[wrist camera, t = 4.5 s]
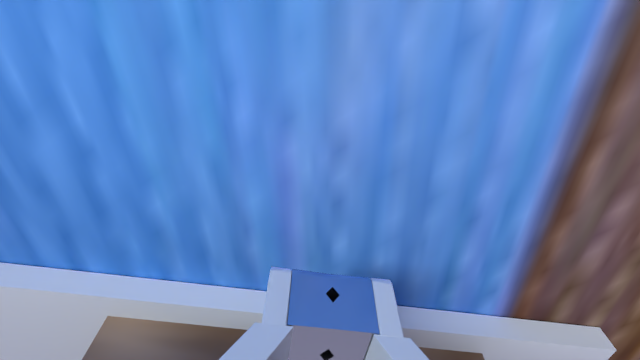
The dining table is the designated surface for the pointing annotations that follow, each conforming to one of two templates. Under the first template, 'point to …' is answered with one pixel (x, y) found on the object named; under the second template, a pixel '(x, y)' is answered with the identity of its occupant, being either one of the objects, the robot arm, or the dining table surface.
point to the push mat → (238, 317)
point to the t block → (187, 342)
